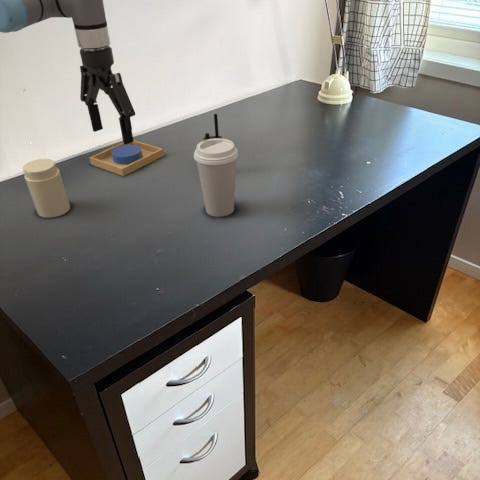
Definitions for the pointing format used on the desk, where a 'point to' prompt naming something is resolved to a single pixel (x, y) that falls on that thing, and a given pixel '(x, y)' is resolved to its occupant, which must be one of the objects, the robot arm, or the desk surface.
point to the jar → (46, 188)
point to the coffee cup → (217, 174)
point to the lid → (126, 154)
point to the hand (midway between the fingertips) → (112, 136)
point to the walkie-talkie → (215, 130)
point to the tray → (107, 163)
